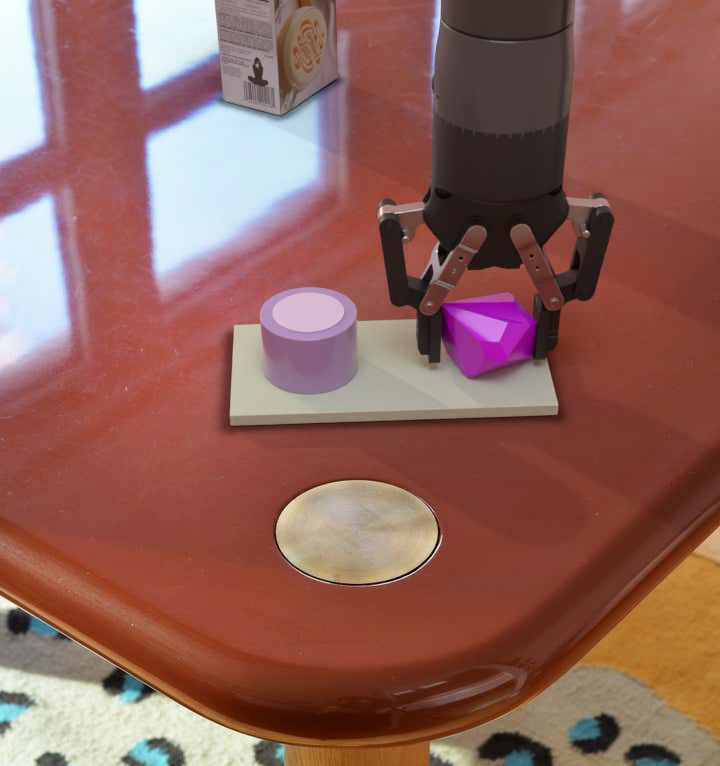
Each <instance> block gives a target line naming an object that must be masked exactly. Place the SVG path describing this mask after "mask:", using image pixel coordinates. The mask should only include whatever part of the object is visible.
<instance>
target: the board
mask: <svg viewBox="0 0 720 766" xmlns="http://www.w3.org/2000/svg"><path fill="white" fill-rule="evenodd" d="M357 325H358V369H357V372H356V374H355V376H354V377H353V379H352V380H351V381H350V382H348V383H347V384H346V385H344V386H342V387H340V388H338V389H336V390H333V391H330V392H325V393H320V394H298V393H292V392H288V391H285V390H282V389H280V388H278V387H276V386H275V385H273V384H272V383H271V382H270V381H269V380H268V379H267V378H266V376H265V374H264V371H263V359H262V345H261V331H260V323H253V324H251V323H250V324H249V323H248V324H234V325H233V340H232V360H231V361H232V363H231V382H230V399H229V400H230V402H229V403H230V404H229V423H230V426H231V427H234V426H235V427H236V426H237V427H239V426H240V427H241V426H269V425H271V426H272V425H273V426H274V425H299V424H301V425H302V424H326V423H327V424H329V423H356V422H357V423H359V422H360V423H361V422H389V421H390V422H391V421H393V422H394V421H415V420H416V421H419V420H448V419H449V420H451V419H475V418H477V419H478V418H480V419H481V418H482V419H483V418H508V417H510V418H511V417H512V418H513V417H538V416H539V417H540V416H558V414H559V401H558V398H557V393H556V390H555V385H554V381H553V377H552V374H551V373H552V372H551V370H550V365H549V361H548V358H547V356H546V359H545V360H534V358H531V359H528V360H525V361H522V362H519V363H516V364H512V365H509V366H506V367H503V368H500V369H497V370H493V371H490V372H487V373H484V374H481V375H478V376H474V377H466V376H465V375H464V373H463V372H462V371H461V370H460V369H459V367H458V366H457V365H456V364H455V362H454V361H453V360H452V359H451V358H450V356H449V355H448V354H447V353H446V350H445V348H444V345H443V343H442V340H441V355H440V363H429V362H428V355H421V354H420V352H419V350H418V346H417V339H416V318H413V319H412V318H411V319H381V320H380V319H379V320H377V319H375V320H357Z"/></svg>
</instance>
